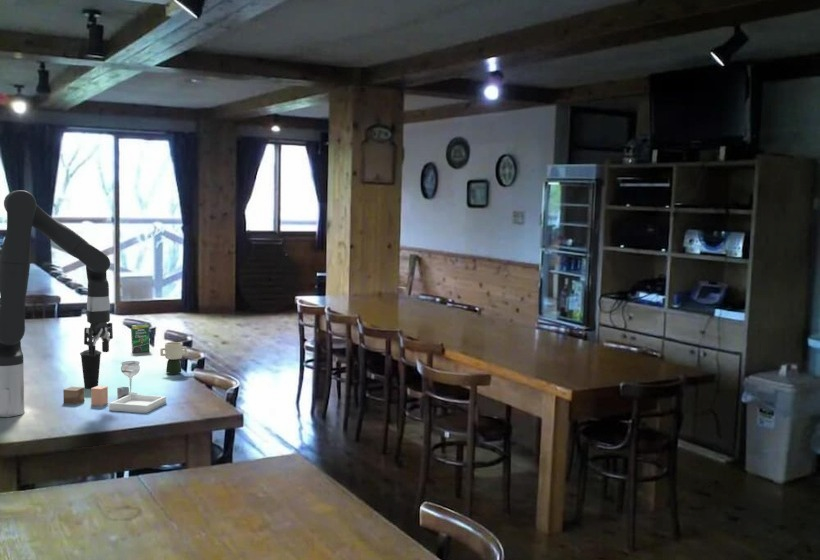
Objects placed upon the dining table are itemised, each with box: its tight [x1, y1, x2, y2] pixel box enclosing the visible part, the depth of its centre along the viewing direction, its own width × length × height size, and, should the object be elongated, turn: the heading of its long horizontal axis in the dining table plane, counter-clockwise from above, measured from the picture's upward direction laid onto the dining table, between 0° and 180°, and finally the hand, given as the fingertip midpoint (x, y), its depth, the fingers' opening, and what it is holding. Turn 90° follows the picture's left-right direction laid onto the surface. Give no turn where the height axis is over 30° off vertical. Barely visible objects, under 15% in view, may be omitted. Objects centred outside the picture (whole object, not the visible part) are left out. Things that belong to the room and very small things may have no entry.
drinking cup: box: [79, 349, 102, 390], centre depth 308 cm, size 8×8×20 cm
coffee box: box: [130, 324, 151, 354], centre depth 382 cm, size 8×3×13 cm, turn 118°
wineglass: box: [120, 360, 141, 394], centre depth 299 cm, size 7×7×12 cm
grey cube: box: [116, 386, 130, 400], centre depth 292 cm, size 4×4×4 cm
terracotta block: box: [90, 385, 109, 406], centre depth 284 cm, size 4×4×6 cm
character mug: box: [159, 341, 188, 375], centre depth 336 cm, size 11×7×13 cm, turn 118°
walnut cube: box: [62, 386, 85, 405], centre depth 286 cm, size 5×5×5 cm
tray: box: [108, 393, 167, 414], centre depth 282 cm, size 14×14×2 cm
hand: (98, 354), depth 283 cm, fingers open, 8 cm apart
